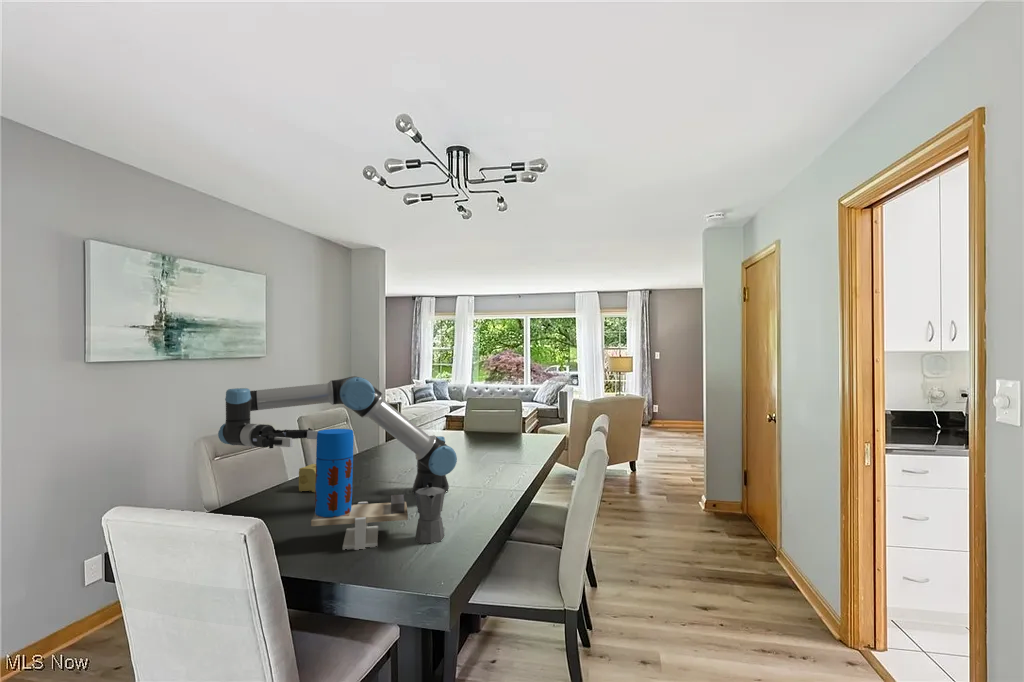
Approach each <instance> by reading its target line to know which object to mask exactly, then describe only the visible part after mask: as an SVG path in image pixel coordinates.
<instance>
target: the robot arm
mask: <svg viewBox="0 0 1024 682" xmlns="http://www.w3.org/2000/svg"><path fill="white" fill-rule="evenodd" d="M224 400H225V423H223V424H222V425H221V426H220V428H219V430H218V433H217V435H218V439H219V441H221V443H222V444H224V445H225V444H226V445H231V446H241V447H242V446H247V447H250V448H251V449H254V448H256V447H257V448H268V447H269V448H268V449H274V447H282V448H283V447H284V448H292V447H293V439H294V440H295V439H296V440H298V439H306V440H317V433H318V431H319V430H313V429H312V428H310V427H309V428H308V429H282V430H281V429H275V428H274V426H272V425H271V424H264V423H263V424H261V423H251V412H256V411H262V410H271V409H272V410H273V409H281V408H289V407H300V406H309V405H317V404H326V403H327V404H329V403H330V405H333V406H334V405H344V406H345V407H346V408H348V409H349V410H351V411H352V412H354V413H355V414H357V415H358V416H359V417H361V418H368V419H370V420H372V422H374V423H376V425H378V426H379V427H381V429H383V430H384V431H385V432H386V433H388V435H390V436H392V437H393V438H394V439H396V440H397V441H398V442H399V443H401V444H402V445H404V446H405V447H406V448H407V449H409V450H410V451H411V452H413V453H414V454H415V460H416V474H415V475H416V476H415V478H414V482H413V484H412V493H413V492H414V493H415V492H416V491H417V490H418V489H421V488H426V486H427V484H428V482H429V481H432V482H433V484H432V487H438V488H442V489H444V490H445V492H446V491H448V489H449V488H450V486H449V481H448V479H447V475H448V474H450V473H451V472H452V471H454V469H455V467H456V465H457V462H458V461H457V460H458V456H457V453H456V452H455V449H454V448H453V447H451V446H449V445H447V444H446V439H445V437H444V436H441V435H440V436H436V435H433V434H432V435H428V433H426V432H425V431H424V430H422V429H421V428H420V427H418V425H416V424H414V423H413V421H411V420H409V419H408V418H407V417H406V416H405V415H403V414H402V413H401V412H400V411H398V410H397V409H396V408H395V407H393V406H392V405H391V404H390V403H389V402H387V401H386V400H385V399H384V396H383V392H381V391H380V390H379V389H377V388H376V387H375V386H374V385H373V384H372V383H371V382H370V381H369V380H368V379H366V378H363V377H360V376H355V375H354V376H349V377H345V378H340V379H334V380H332V379H331V380H329V381H328V382H327V383H319V384H308V385H296V386H288V387H287V386H286V387H276V388H267V389H266V388H265V389H257V390H251V389H250V388H246V387H245V388H244V387H241V388H238V387H237V388H235V387H234V388H228V389H227V390H226V392H225V398H224ZM449 490H450V489H449ZM448 492H449V491H448ZM414 493H413V494H414ZM446 493H447V492H446Z"/></svg>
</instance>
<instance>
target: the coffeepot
mask: <svg viewBox="0 0 1024 682" xmlns="http://www.w3.org/2000/svg"><path fill="white" fill-rule="evenodd" d="M432 484H433V482H432V481H429V482H428V484H427V486H426V488H421V489H418V490H417V491H416V492H415V494H414V496H415V500H416V509H417V513H418V514H419V517H418V519H417V520H418V521H417V524H416V530H415V537H414V540H415V541H416V540H417V541H418V542H417V541H416V542H417V543H419V542H420V544H422V543H434V542H438V541H440V542H442V541H443V540H444V539H443V538H445V537H444V536H445V530H444V525H443V523H444V522H443V518H442V516H441V513H442V511H443V508H444V507H443V506H444V500H445V494H446V493H445V490H444V489H442V488H438V487H432ZM442 539H443V540H442ZM441 540H442V541H441ZM438 543H439V542H438ZM434 544H435V543H434Z"/></svg>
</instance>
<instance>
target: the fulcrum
mask: <svg viewBox="0 0 1024 682" xmlns="http://www.w3.org/2000/svg"><path fill="white" fill-rule="evenodd" d="M357 504H369V502H368V501H358V502H357ZM368 524H369V523H366V517H361V518H355V523H354V527H347V528H346V530H345V535H344V537H343V538H344V539H343V542H342V543H343V544H342V551H346V550H345V549H347V550H354V551H359V549H363V550H366V548H365V547H370V548H376V547H375V546H377V547H378V543H379V542H378V541H379V539H378V538H379V536H378V535H379V525H373V526H372V525H371V526H368Z"/></svg>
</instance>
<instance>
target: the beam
mask: <svg viewBox="0 0 1024 682" xmlns="http://www.w3.org/2000/svg"><path fill="white" fill-rule="evenodd" d="M361 517H366V523H368V524H369V523H382V522H396V521H397V522H398V521H408V520H409V514H408V505H407V501H405V496H404V494H391V495H390V502H379V503H377V502H376V503H368V504H358V503H357V504H352V505H351V511H350V512H349V513H348V514H345V515H342V516H337V517H321V516H318V515H316V513H315V512H314V514H313V515H312V518H311V521H310V523H311V524H310V527H320V526H323V527H324V526H336V525H350V524H354V525H355V518H361Z"/></svg>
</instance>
